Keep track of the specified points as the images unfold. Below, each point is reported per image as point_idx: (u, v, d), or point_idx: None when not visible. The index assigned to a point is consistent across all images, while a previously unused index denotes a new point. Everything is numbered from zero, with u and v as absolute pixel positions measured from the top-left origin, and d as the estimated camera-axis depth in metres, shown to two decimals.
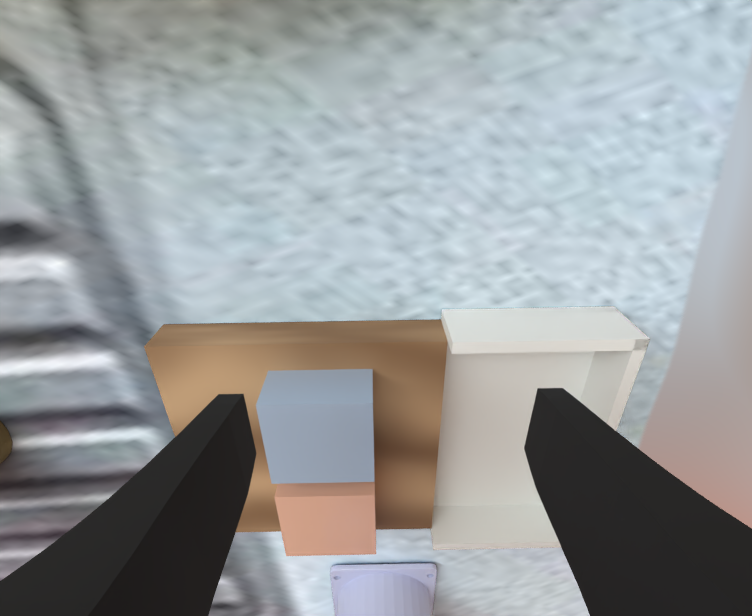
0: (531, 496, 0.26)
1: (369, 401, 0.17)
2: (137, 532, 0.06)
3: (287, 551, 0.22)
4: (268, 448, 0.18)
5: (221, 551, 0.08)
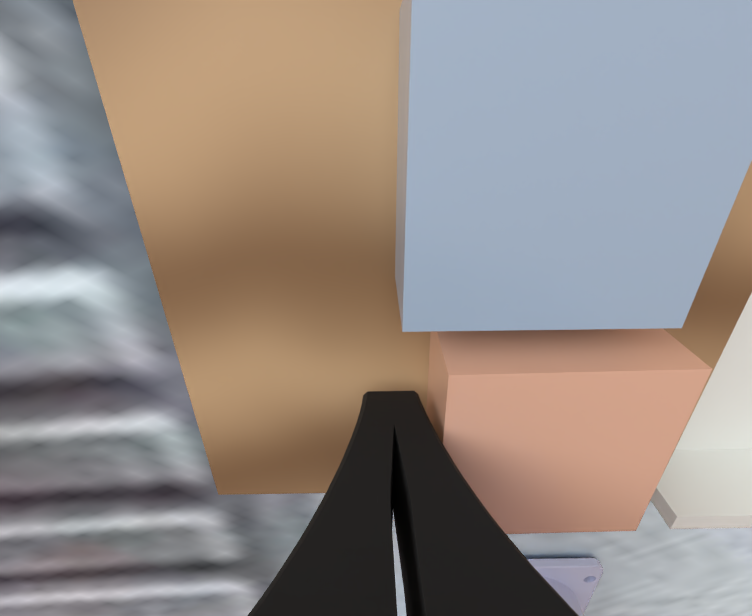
0: None
1: None
2: (377, 528, 0.06)
3: None
4: (417, 196, 0.06)
5: None
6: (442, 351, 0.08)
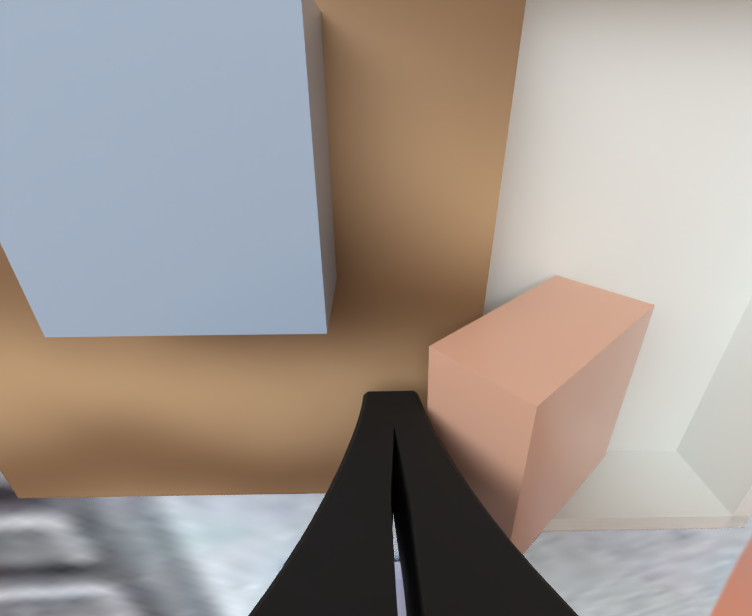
0: (646, 433, 0.14)
1: None
2: (378, 528, 0.06)
3: None
4: None
5: None
6: (495, 383, 0.07)
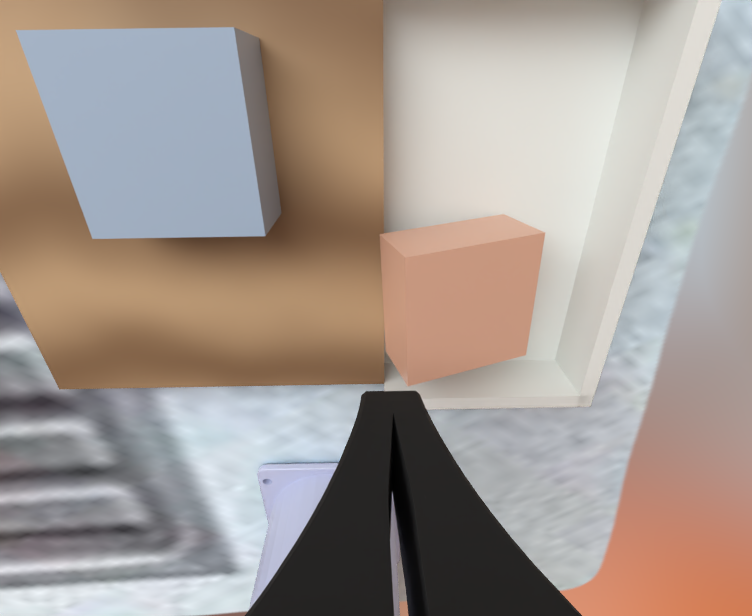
0: (529, 345, 0.18)
1: (228, 27, 0.09)
2: (375, 528, 0.06)
3: (410, 377, 0.14)
4: (66, 151, 0.11)
5: None
6: (396, 249, 0.13)
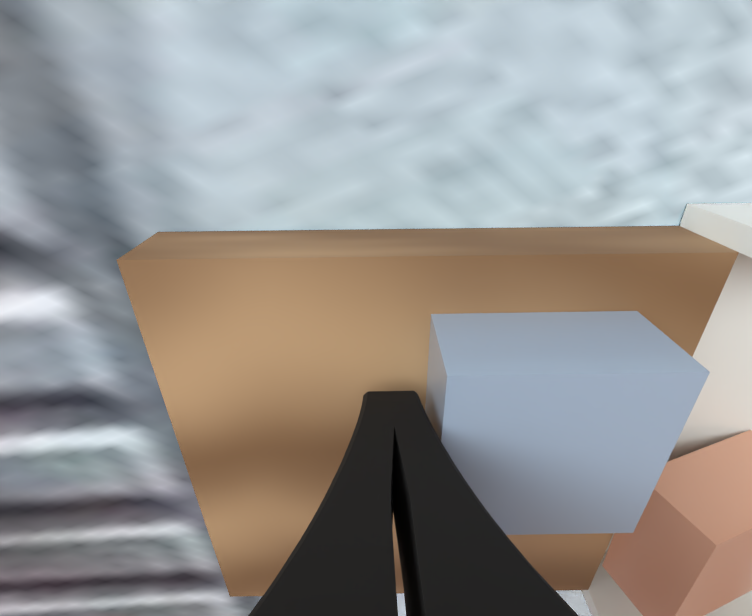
0: None
1: (697, 368, 0.08)
2: (378, 528, 0.06)
3: None
4: None
5: None
6: (687, 518, 0.11)
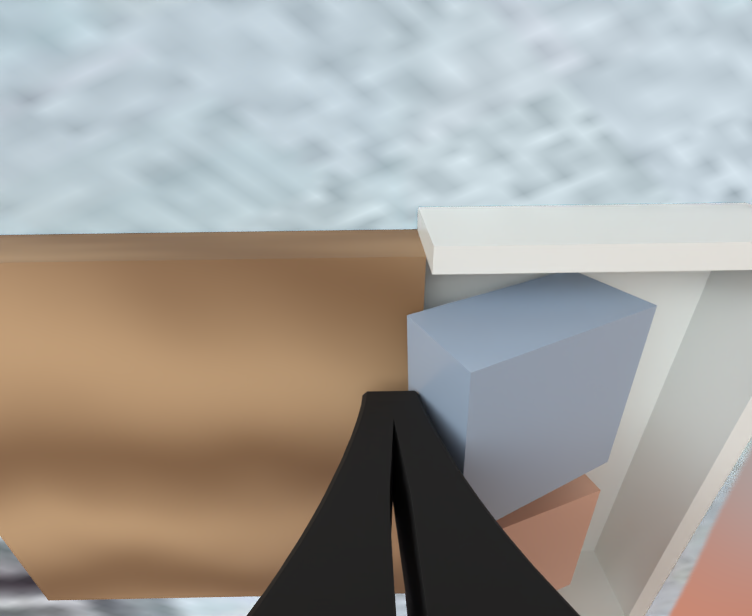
0: None
1: (647, 304, 0.09)
2: (376, 527, 0.06)
3: None
4: (470, 469, 0.09)
5: None
6: None
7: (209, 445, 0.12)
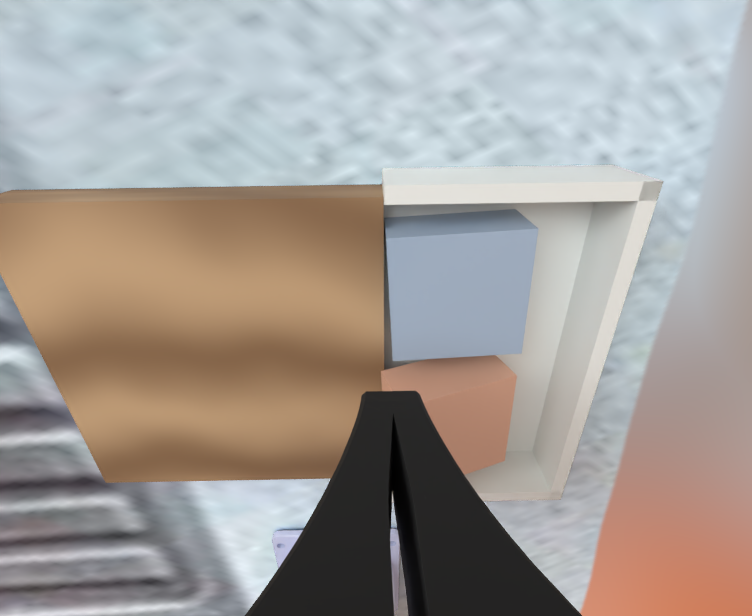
0: (510, 440, 0.21)
1: (532, 227, 0.13)
2: (376, 528, 0.06)
3: None
4: (394, 307, 0.15)
5: None
6: None
7: (234, 343, 0.16)
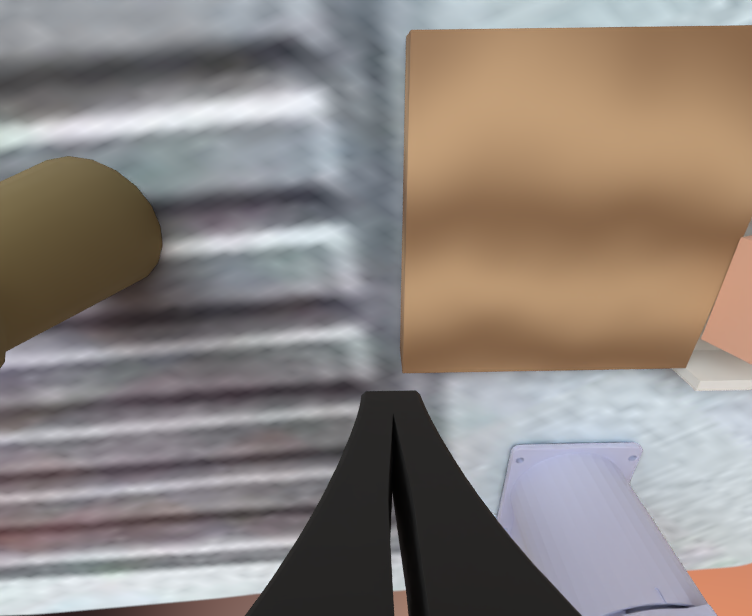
0: None
1: None
2: (375, 527, 0.06)
3: None
4: None
5: None
6: None
7: (606, 203, 0.16)
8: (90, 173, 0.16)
